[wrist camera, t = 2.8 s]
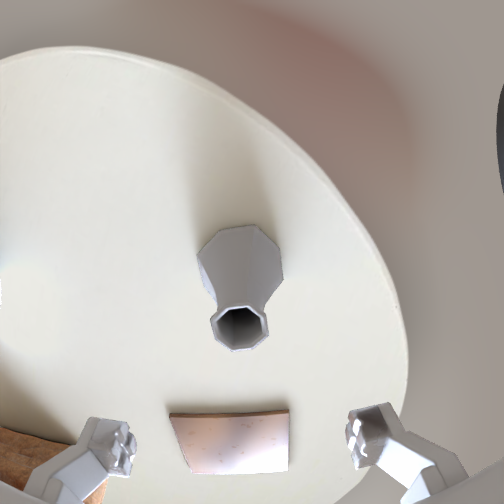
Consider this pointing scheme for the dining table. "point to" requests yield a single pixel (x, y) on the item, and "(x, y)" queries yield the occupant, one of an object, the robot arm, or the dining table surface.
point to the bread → (31, 460)
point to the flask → (240, 284)
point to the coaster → (234, 441)
